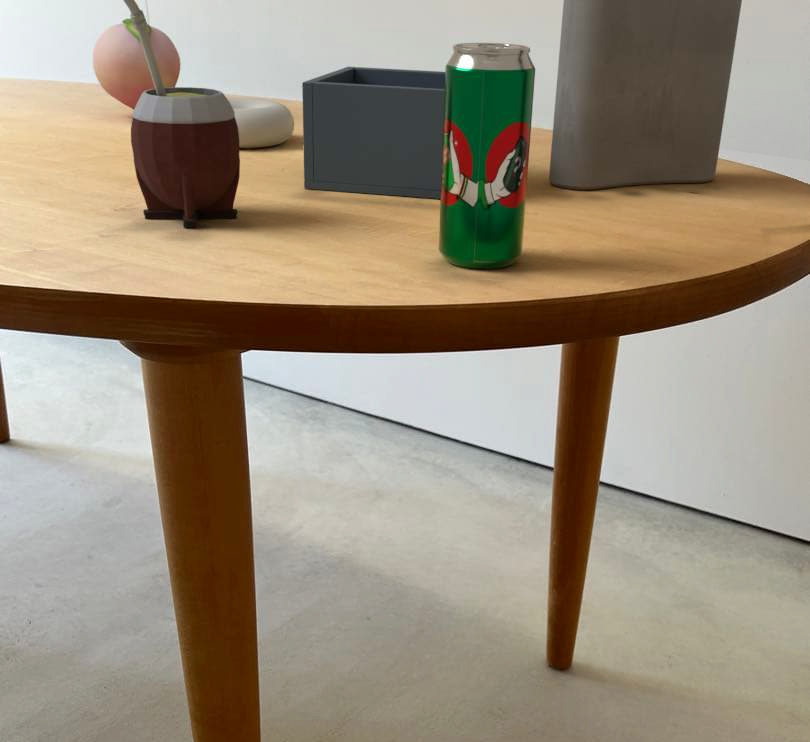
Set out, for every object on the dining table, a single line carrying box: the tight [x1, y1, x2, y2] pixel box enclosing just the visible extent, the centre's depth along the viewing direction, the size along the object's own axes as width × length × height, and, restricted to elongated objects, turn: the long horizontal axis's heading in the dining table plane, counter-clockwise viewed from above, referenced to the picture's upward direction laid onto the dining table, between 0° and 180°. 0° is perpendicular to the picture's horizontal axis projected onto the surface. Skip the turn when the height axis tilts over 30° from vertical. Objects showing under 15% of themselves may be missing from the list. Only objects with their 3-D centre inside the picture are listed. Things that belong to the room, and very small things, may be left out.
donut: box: [227, 97, 295, 149], centre depth 102 cm, size 10×4×10 cm
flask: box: [548, 0, 743, 191], centre depth 86 cm, size 15×6×20 cm, turn 113°
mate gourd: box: [123, 0, 241, 229], centre depth 72 cm, size 8×8×15 cm
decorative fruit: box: [92, 18, 181, 111], centre depth 112 cm, size 9×8×10 cm
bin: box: [301, 66, 445, 200], centre depth 87 cm, size 12×12×8 cm
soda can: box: [438, 42, 536, 270], centre depth 65 cm, size 5×5×12 cm
